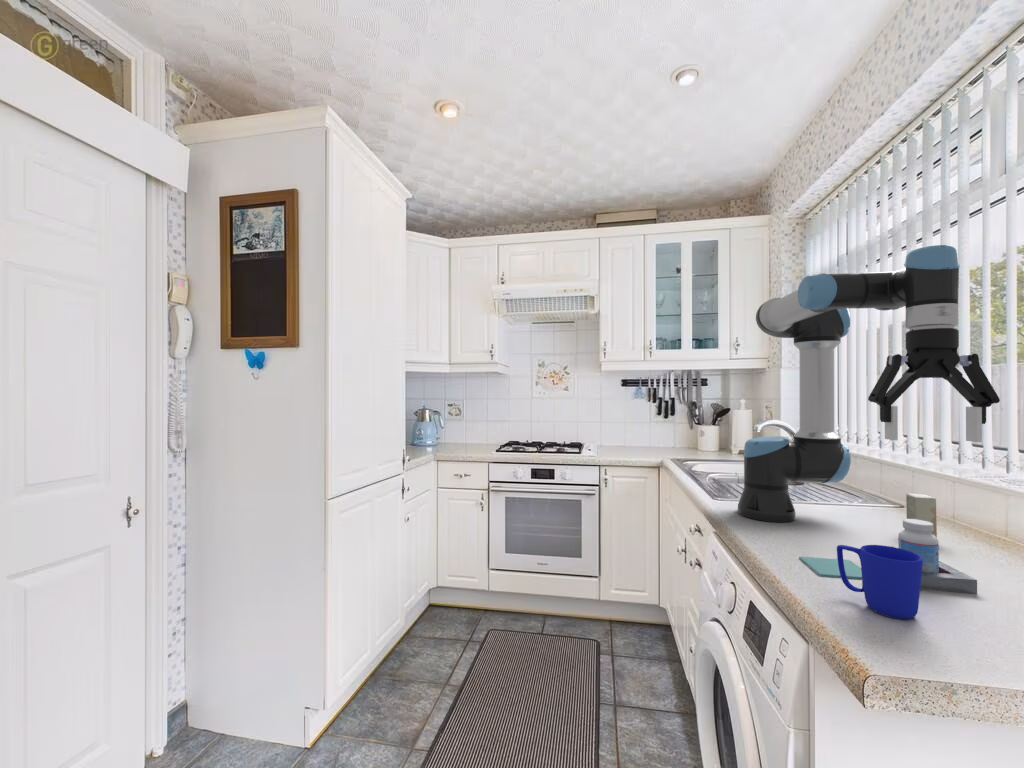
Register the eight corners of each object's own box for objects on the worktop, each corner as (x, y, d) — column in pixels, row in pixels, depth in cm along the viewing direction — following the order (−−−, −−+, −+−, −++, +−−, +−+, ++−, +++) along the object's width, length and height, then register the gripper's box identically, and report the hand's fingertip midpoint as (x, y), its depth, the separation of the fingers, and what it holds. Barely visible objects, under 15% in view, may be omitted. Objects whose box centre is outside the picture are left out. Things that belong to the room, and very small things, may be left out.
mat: (799, 558, 103) (799, 556, 103) (849, 561, 101) (849, 559, 101) (819, 576, 93) (819, 574, 93) (876, 580, 92) (876, 578, 92)
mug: (847, 589, 87) (847, 535, 87) (931, 615, 77) (930, 555, 77) (826, 599, 83) (826, 543, 83) (912, 629, 73) (912, 565, 73)
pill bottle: (946, 585, 89) (946, 527, 89) (910, 582, 90) (910, 525, 91) (925, 573, 95) (925, 518, 95) (891, 571, 96) (891, 516, 96)
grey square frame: (867, 564, 100) (867, 552, 100) (931, 569, 98) (931, 557, 98) (903, 587, 88) (903, 574, 88) (977, 593, 86) (977, 580, 86)
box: (937, 543, 114) (937, 498, 114) (916, 541, 115) (915, 497, 115) (926, 537, 119) (926, 494, 119) (905, 535, 120) (905, 492, 120)
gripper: (868, 327, 87) (868, 440, 87) (1027, 325, 82) (1028, 444, 82) (847, 332, 94) (848, 436, 94) (992, 330, 90) (993, 440, 89)
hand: (931, 440), depth 88 cm, fingers open, 13 cm apart
